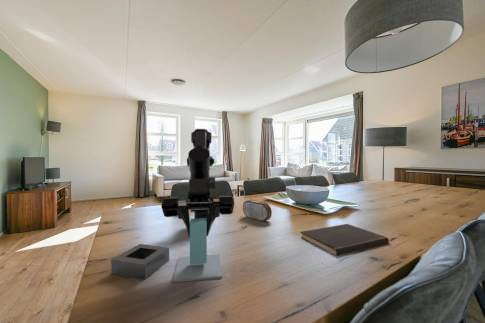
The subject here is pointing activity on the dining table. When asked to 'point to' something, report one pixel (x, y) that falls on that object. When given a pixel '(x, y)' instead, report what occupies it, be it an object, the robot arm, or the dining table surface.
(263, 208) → the portable speaker
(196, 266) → the mat
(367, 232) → the hardcover book
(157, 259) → the socket block
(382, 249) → the dining table surface
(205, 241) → the peg
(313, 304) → the dining table surface
